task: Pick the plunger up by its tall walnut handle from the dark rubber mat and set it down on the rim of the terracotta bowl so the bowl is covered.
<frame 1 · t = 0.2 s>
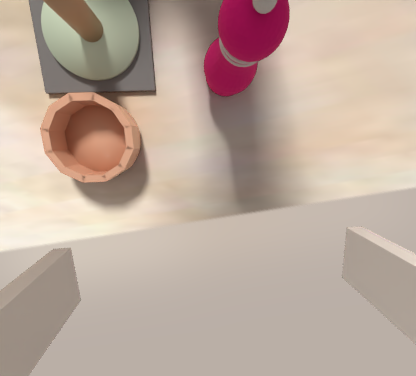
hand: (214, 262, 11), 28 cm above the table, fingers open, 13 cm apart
pepper mill: (225, 75, 35), on the table
plunger: (93, 31, 31), point 1 cm above the table, touching mat
bowl: (102, 139, 35), on the table
mat: (94, 33, 32), on the table
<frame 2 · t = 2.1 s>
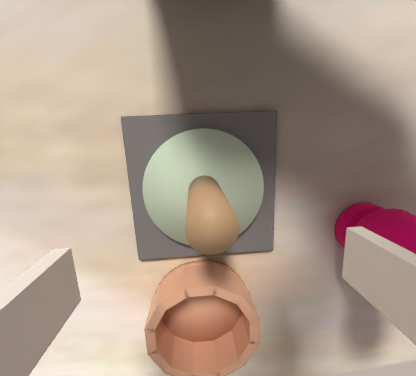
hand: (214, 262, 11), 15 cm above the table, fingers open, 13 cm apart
pepper mill: (357, 225, 28), on the table
plunger: (203, 189, 24), point 1 cm above the table, touching mat
bowl: (201, 302, 28), on the table
mat: (203, 188, 25), on the table
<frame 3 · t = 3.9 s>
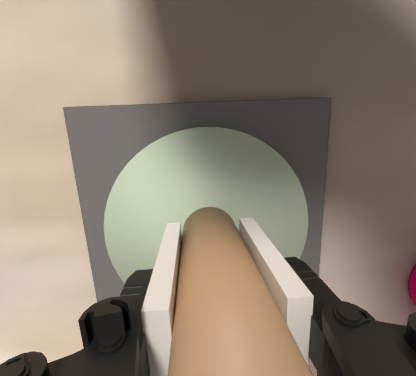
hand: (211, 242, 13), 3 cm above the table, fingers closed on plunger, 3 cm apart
plunger: (208, 227, 15), point 1 cm above the table, touching gripper
mat: (207, 224, 15), on the table
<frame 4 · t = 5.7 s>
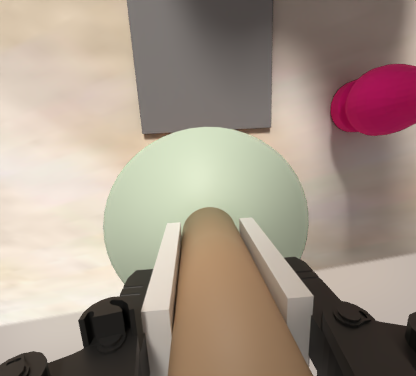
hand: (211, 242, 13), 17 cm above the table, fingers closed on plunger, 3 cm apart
pepper mill: (352, 107, 29), on the table
plunger: (208, 227, 15), point 15 cm above the table, touching gripper
mat: (203, 60, 26), on the table
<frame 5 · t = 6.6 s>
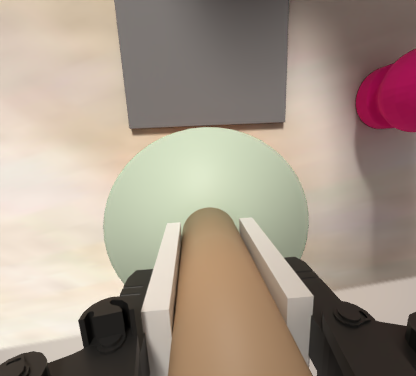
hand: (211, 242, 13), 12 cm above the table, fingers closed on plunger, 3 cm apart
pepper mill: (380, 99, 24), on the table
plunger: (208, 228, 15), point 10 cm above the table, touching gripper
mat: (204, 40, 21), on the table
when the fingers open (9 cm above the table, at t = 7.4 s): plunger drops 2 cm, resting on bowl.
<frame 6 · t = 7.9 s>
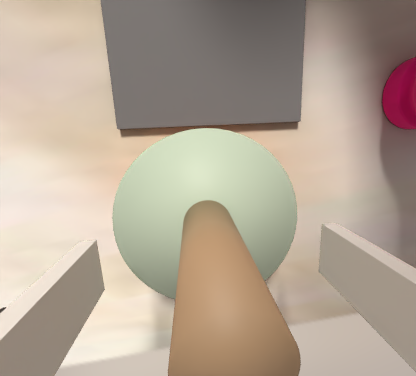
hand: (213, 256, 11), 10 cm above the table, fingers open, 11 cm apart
pepper mill: (411, 95, 21), on the table
plunger: (206, 219, 16), point 5 cm above the table, touching bowl
mat: (206, 24, 18), on the table
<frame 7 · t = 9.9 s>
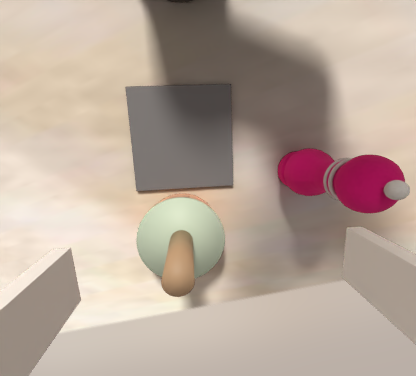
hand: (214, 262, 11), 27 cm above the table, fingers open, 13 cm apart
pepper mill: (294, 169, 38), on the table
plunger: (181, 238, 33), point 5 cm above the table, touching bowl
mat: (182, 139, 36), on the table
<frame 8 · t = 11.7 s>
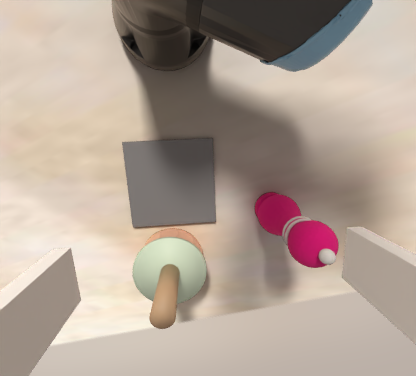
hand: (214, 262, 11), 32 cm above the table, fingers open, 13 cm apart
pepper mill: (269, 207, 44), on the table
plunger: (170, 270, 40), point 5 cm above the table, touching bowl
bowl: (172, 256, 45), on the table
mat: (171, 183, 42), on the table
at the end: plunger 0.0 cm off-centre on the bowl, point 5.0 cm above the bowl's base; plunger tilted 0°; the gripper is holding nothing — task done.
